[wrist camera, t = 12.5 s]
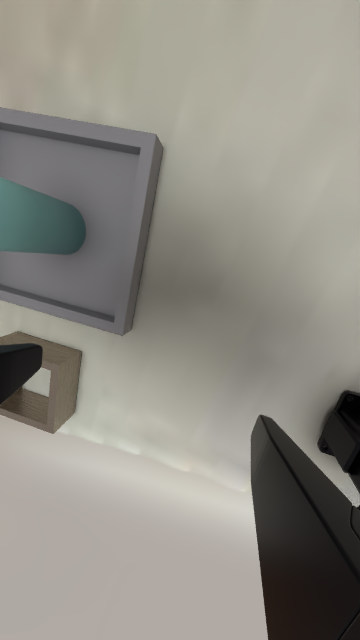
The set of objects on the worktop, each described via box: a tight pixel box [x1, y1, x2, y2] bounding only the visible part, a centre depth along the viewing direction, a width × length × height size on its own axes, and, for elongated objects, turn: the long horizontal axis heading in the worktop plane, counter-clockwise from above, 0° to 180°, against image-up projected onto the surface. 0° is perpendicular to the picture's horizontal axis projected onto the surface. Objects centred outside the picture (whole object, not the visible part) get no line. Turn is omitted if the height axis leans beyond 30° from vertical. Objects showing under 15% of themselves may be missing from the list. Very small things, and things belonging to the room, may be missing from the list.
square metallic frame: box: [0, 332, 82, 434], centre depth 24 cm, size 8×8×4 cm
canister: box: [0, 177, 86, 255], centre depth 15 cm, size 5×5×12 cm
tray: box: [0, 107, 163, 336], centre depth 21 cm, size 16×16×2 cm
